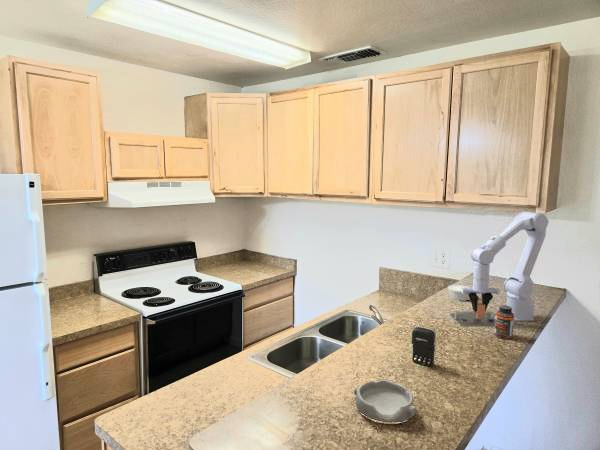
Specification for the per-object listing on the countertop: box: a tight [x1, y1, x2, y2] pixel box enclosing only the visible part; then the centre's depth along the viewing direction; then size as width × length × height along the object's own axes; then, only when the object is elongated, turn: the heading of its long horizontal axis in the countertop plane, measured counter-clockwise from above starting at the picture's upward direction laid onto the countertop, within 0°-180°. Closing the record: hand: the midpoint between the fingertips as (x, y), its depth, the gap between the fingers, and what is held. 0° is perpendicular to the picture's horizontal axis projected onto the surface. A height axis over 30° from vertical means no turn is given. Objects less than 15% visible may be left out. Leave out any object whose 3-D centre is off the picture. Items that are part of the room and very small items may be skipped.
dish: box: [353, 379, 417, 422], centre depth 97 cm, size 14×14×5 cm
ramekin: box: [447, 284, 471, 302], centre depth 183 cm, size 11×11×5 cm
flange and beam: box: [449, 310, 496, 327], centre depth 155 cm, size 16×12×4 cm
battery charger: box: [411, 325, 437, 367], centre depth 120 cm, size 7×4×11 cm, turn 55°
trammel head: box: [476, 301, 485, 320], centre depth 155 cm, size 3×4×6 cm
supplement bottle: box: [494, 304, 515, 340], centre depth 139 cm, size 6×6×11 cm
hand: (479, 310), depth 155 cm, fingers open, 3 cm apart
